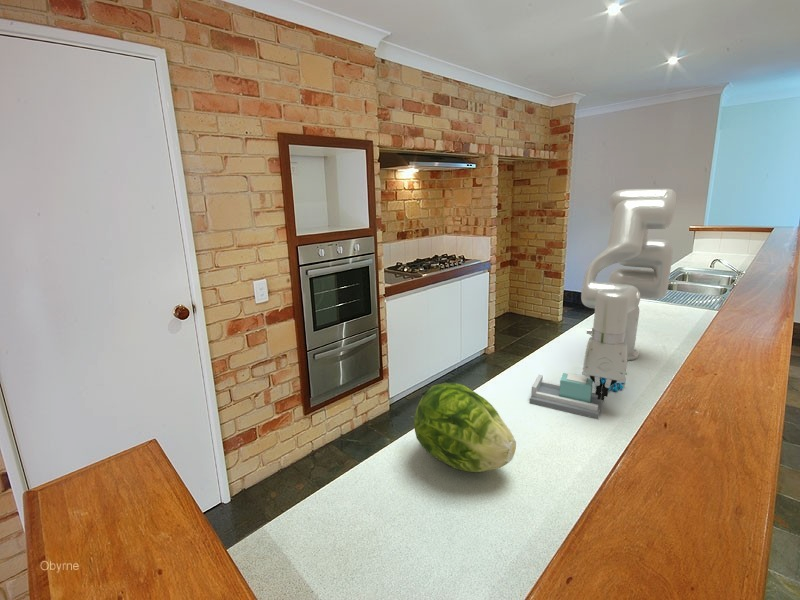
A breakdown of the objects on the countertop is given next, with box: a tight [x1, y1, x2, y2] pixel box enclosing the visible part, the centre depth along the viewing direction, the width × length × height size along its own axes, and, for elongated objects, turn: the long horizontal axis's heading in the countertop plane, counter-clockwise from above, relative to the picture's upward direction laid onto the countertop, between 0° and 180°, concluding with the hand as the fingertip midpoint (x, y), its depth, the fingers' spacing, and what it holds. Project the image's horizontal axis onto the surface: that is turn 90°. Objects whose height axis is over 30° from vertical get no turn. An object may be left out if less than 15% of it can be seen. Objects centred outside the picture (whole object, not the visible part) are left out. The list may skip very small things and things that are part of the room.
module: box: [559, 372, 594, 403], centre depth 114 cm, size 5×8×6 cm, turn 60°
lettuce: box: [413, 382, 517, 473], centre depth 90 cm, size 18×23×19 cm
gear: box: [601, 372, 628, 392], centre depth 124 cm, size 11×6×10 cm
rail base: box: [529, 374, 603, 420], centre depth 116 cm, size 12×18×4 cm, turn 59°
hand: (601, 397), depth 111 cm, fingers closed
